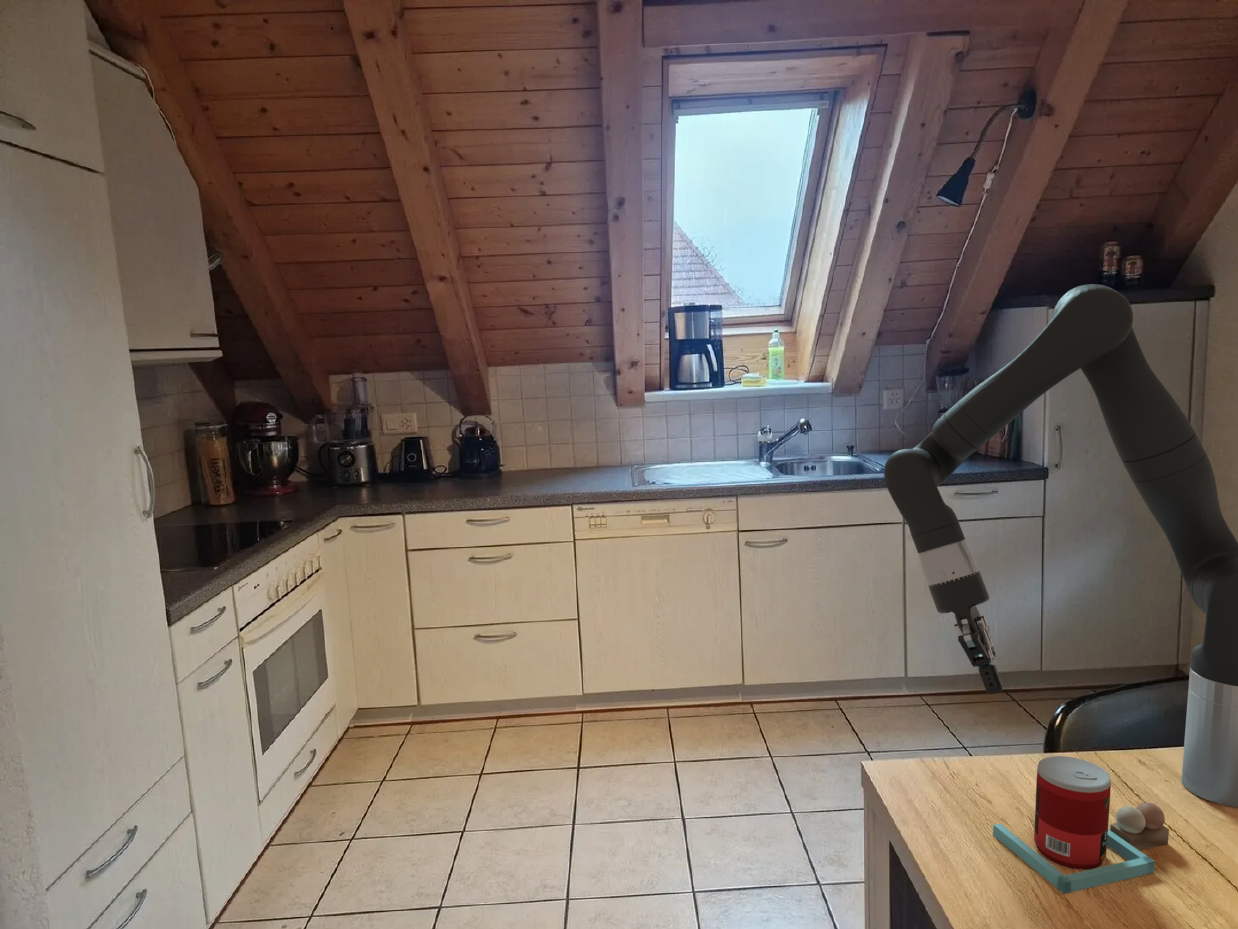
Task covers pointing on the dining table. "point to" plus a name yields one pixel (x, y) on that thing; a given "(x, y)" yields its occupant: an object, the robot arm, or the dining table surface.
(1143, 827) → the egg holder with eggs
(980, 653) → the robot arm
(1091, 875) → the teal bay
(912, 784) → the dining table surface
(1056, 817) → the canned food
